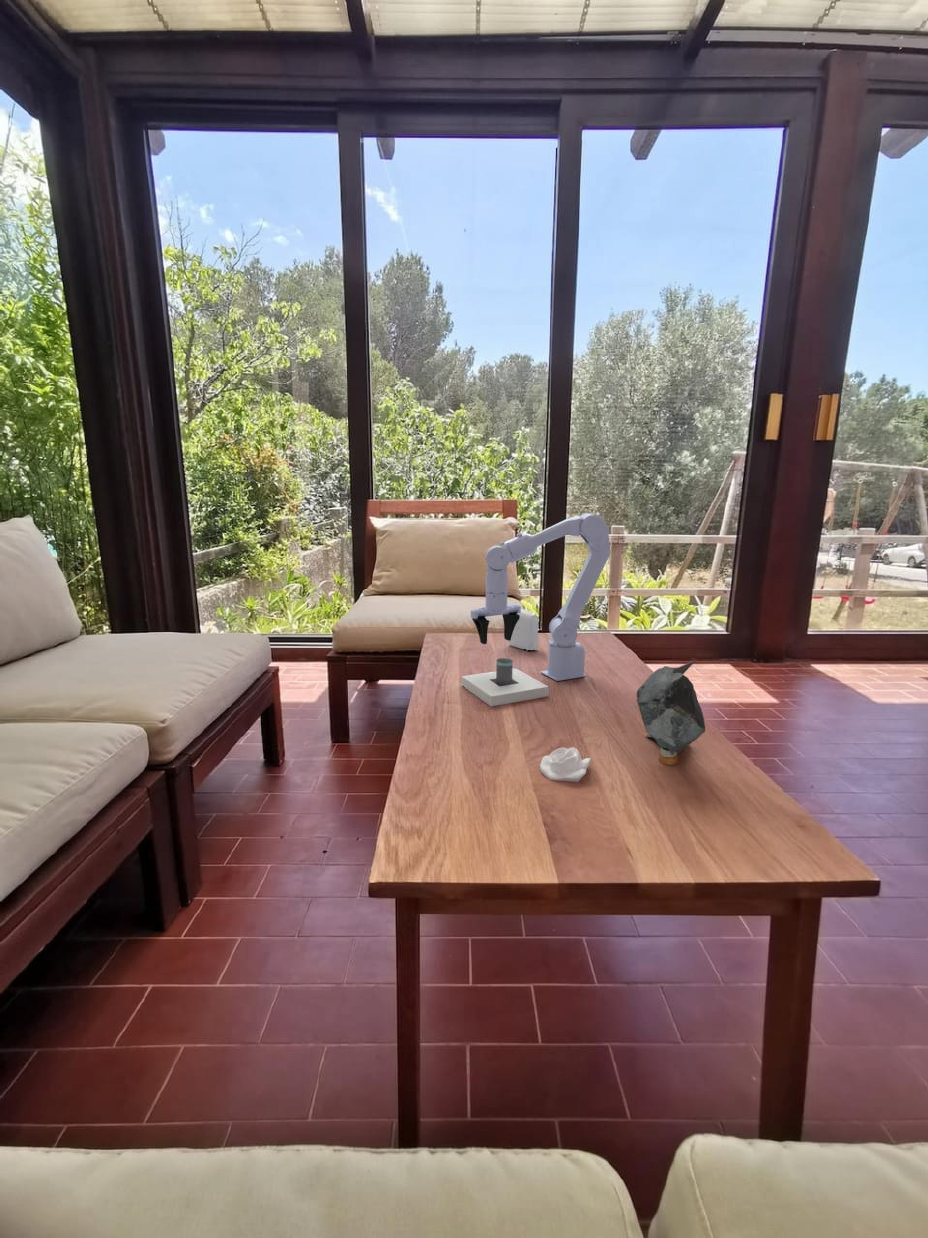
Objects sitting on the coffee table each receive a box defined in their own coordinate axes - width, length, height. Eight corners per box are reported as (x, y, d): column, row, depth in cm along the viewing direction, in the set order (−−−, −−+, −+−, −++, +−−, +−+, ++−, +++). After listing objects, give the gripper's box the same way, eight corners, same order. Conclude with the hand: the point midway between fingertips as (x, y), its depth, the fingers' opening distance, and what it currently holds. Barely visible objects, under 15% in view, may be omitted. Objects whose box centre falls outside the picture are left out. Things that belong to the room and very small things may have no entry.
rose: (605, 757, 105) (557, 766, 102) (604, 780, 106) (555, 789, 103) (576, 735, 114) (530, 742, 111) (575, 756, 115) (530, 764, 112)
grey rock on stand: (613, 756, 115) (619, 667, 111) (651, 732, 125) (658, 650, 121) (684, 781, 105) (694, 685, 101) (719, 754, 116) (729, 666, 111)
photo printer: (506, 645, 191) (507, 607, 188) (516, 643, 194) (517, 606, 191) (529, 652, 183) (531, 613, 180) (539, 650, 186) (540, 611, 183)
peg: (507, 687, 152) (507, 657, 150) (514, 692, 149) (515, 661, 147) (493, 689, 151) (493, 659, 149) (500, 694, 147) (501, 663, 145)
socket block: (515, 677, 160) (515, 668, 160) (548, 696, 146) (548, 686, 146) (461, 685, 153) (461, 676, 153) (490, 706, 139) (491, 696, 139)
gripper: (480, 596, 150) (480, 648, 153) (527, 592, 157) (526, 641, 160) (466, 592, 156) (466, 642, 159) (513, 587, 163) (511, 635, 166)
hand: (495, 641), depth 160 cm, fingers open, 7 cm apart
